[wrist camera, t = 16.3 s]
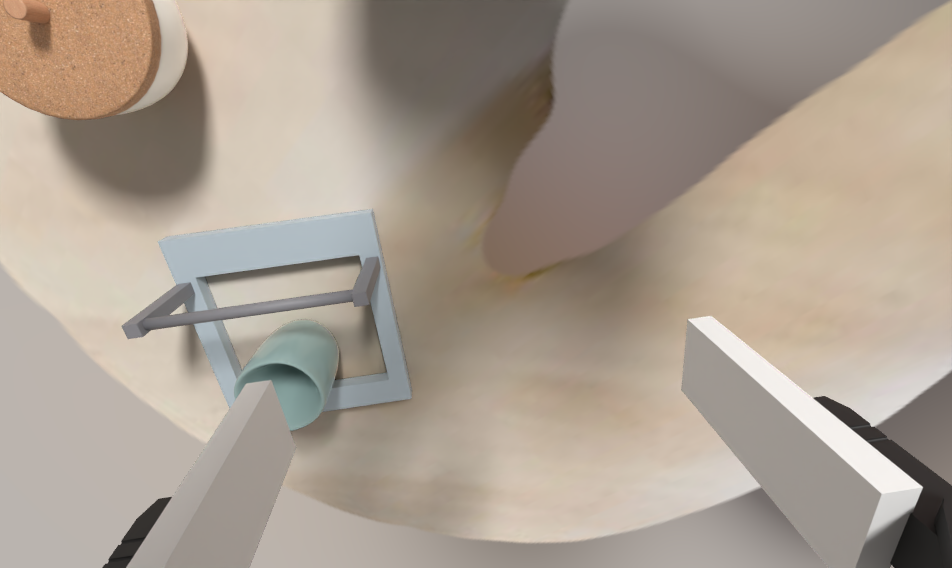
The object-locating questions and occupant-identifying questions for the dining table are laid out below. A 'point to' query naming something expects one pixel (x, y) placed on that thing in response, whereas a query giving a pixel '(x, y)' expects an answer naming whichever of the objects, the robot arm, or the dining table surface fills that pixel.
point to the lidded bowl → (90, 55)
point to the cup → (296, 369)
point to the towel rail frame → (277, 248)
